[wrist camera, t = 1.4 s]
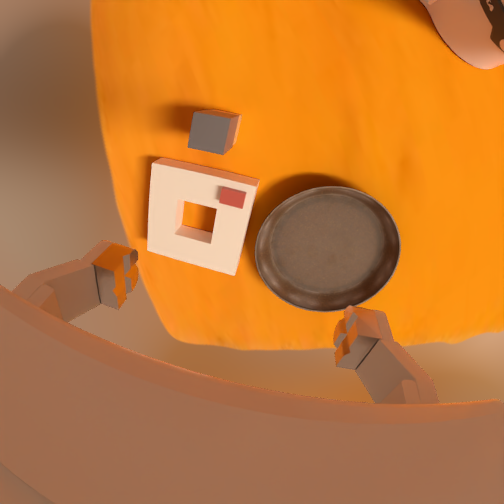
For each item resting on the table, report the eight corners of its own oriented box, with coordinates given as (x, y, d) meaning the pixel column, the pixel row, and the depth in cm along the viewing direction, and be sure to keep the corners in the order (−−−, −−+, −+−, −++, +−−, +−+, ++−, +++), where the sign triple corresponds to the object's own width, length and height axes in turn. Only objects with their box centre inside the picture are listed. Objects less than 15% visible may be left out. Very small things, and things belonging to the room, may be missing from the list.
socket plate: (161, 157, 36) (149, 164, 33) (259, 179, 36) (255, 188, 33) (155, 240, 43) (145, 253, 40) (238, 264, 43) (233, 279, 40)
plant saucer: (356, 312, 46) (358, 326, 43) (242, 278, 45) (238, 291, 42) (417, 210, 34) (426, 220, 32) (283, 156, 34) (281, 162, 31)
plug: (212, 108, 32) (193, 111, 26) (243, 114, 32) (230, 118, 26) (206, 137, 34) (187, 147, 28) (236, 143, 34) (223, 155, 28)
